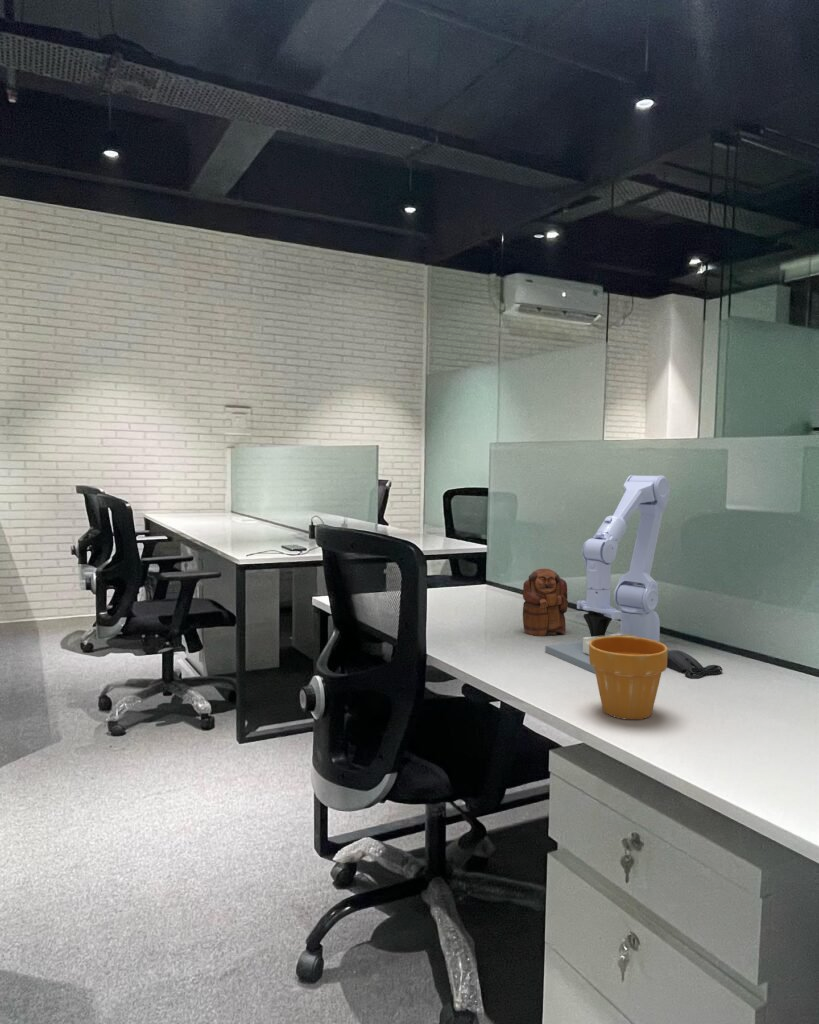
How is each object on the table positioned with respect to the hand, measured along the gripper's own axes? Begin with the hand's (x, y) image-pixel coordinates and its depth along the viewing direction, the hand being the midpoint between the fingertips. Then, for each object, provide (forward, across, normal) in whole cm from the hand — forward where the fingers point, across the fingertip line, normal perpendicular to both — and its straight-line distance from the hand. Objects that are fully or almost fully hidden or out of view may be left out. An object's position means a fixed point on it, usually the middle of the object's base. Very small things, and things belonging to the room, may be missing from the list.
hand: (597, 643), depth 174 cm
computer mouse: (+4, +16, +12) cm, 21 cm away
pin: (+2, +11, 0) cm, 11 cm away
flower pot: (+3, +34, -19) cm, 40 cm away
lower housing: (+1, +6, 0) cm, 6 cm away
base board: (+3, +4, -2) cm, 5 cm away
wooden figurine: (+3, -25, +1) cm, 25 cm away
